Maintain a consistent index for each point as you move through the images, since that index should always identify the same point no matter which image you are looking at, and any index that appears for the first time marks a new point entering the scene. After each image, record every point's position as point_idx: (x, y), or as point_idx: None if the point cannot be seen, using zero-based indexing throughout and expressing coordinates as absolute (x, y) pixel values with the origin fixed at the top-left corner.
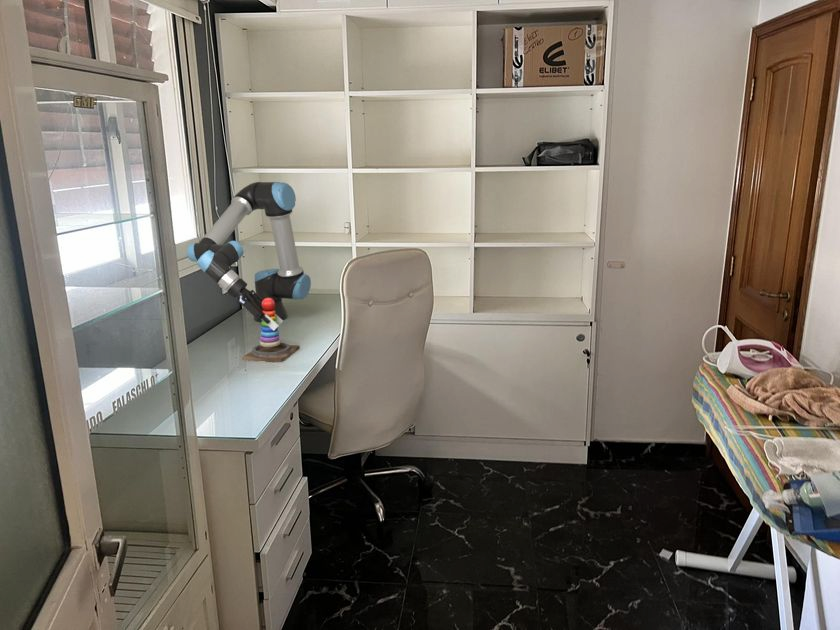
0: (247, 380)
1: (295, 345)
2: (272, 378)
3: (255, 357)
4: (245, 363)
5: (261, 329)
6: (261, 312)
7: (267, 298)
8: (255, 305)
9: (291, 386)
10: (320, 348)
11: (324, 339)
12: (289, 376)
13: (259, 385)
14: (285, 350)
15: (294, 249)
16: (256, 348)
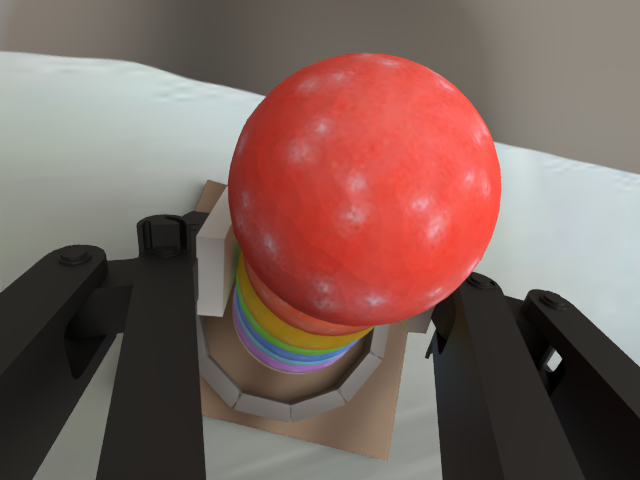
0: (621, 348)
1: (204, 199)
2: (583, 253)
3: (388, 375)
4: (426, 419)
5: (348, 348)
6: (506, 305)
7: (437, 127)
8: (561, 429)
9: (635, 182)
10: (227, 103)
11: (80, 87)
12: (555, 196)
13: None
14: None
15: None
16: (275, 400)
